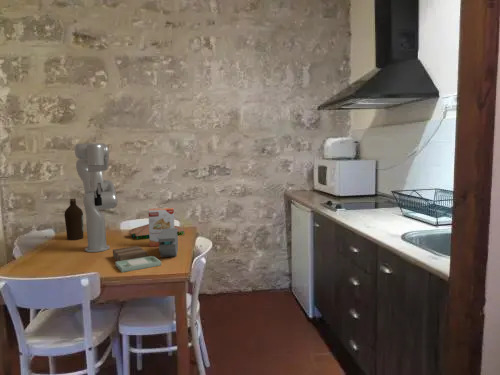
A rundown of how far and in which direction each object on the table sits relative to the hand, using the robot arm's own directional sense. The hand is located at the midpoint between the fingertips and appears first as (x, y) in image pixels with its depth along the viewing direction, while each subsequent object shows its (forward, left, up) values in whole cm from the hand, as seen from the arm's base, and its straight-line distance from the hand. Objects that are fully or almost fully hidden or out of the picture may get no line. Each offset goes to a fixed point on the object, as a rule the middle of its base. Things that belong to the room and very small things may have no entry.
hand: (98, 205), depth 197 cm
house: (-38, +41, -28) cm, 62 cm away
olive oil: (-58, -4, -27) cm, 64 cm away
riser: (+10, +12, -27) cm, 31 cm away
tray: (+24, +12, -27) cm, 38 cm away
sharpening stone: (+13, +31, -27) cm, 43 cm away
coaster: (+26, +11, -24) cm, 37 cm away
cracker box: (-8, +35, -27) cm, 45 cm away
